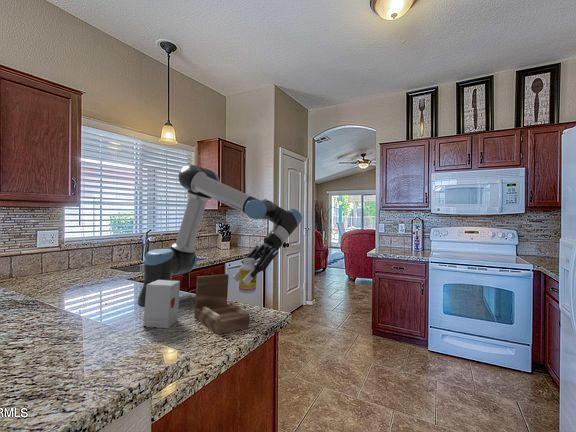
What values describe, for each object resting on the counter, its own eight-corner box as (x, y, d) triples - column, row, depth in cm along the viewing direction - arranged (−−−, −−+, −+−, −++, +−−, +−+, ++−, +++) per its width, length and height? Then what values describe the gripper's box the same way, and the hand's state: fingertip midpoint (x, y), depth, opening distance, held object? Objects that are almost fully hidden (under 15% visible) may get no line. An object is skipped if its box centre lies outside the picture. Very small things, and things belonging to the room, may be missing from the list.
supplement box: (168, 329, 101) (170, 285, 101) (142, 327, 101) (145, 284, 101) (178, 320, 110) (180, 280, 110) (155, 318, 110) (157, 279, 110)
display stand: (194, 317, 113) (196, 276, 114) (224, 312, 122) (226, 274, 122) (216, 334, 98) (219, 286, 99) (249, 326, 107) (251, 283, 107)
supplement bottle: (251, 294, 109) (253, 260, 109) (235, 292, 111) (237, 258, 111) (258, 290, 115) (260, 258, 115) (243, 288, 117) (244, 257, 117)
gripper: (295, 246, 115) (259, 292, 105) (267, 242, 130) (233, 282, 120) (286, 233, 112) (247, 279, 101) (257, 230, 127) (222, 270, 117)
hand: (239, 280), depth 111 cm, fingers closed on supplement bottle, 7 cm apart
